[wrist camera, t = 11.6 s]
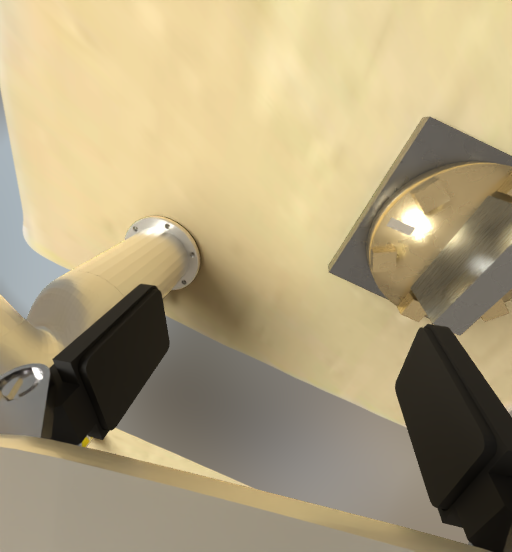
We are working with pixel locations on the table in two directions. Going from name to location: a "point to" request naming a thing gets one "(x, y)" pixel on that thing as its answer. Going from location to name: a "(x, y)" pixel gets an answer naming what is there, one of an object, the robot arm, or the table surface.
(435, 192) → the round hub with lugs
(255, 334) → the table surface
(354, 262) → the base plate
